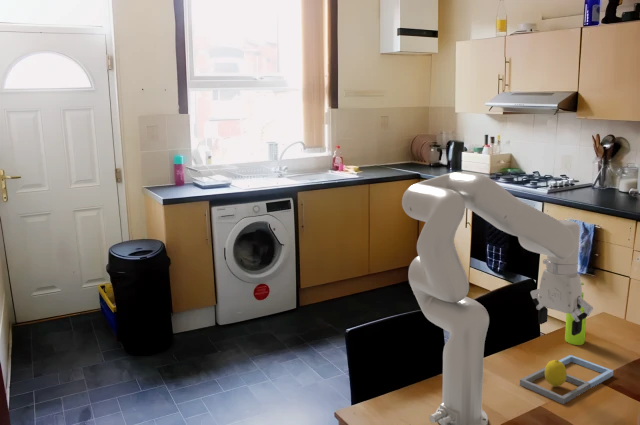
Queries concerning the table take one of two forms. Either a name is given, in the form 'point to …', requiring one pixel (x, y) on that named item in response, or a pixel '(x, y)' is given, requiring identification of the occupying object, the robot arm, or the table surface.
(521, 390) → the table surface
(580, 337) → the soap dispenser
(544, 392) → the grey divided frame
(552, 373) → the lemon
